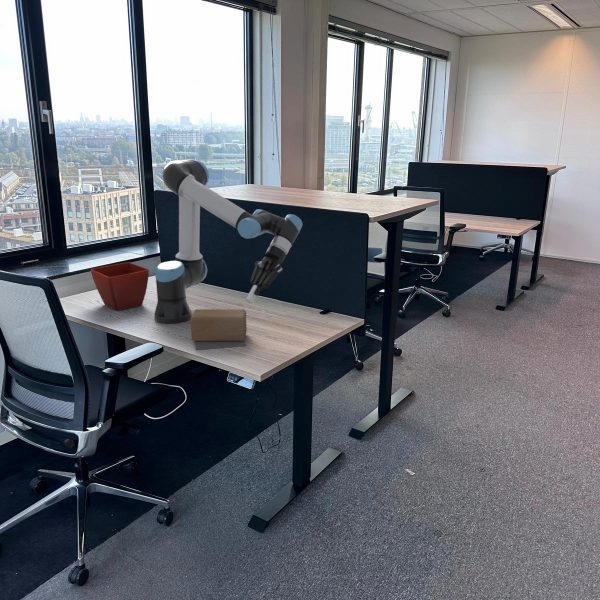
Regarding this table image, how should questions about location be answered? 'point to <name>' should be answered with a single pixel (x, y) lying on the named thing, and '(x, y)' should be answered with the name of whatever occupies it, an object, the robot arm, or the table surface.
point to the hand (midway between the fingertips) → (249, 301)
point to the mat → (217, 344)
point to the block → (218, 325)
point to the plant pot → (121, 284)
